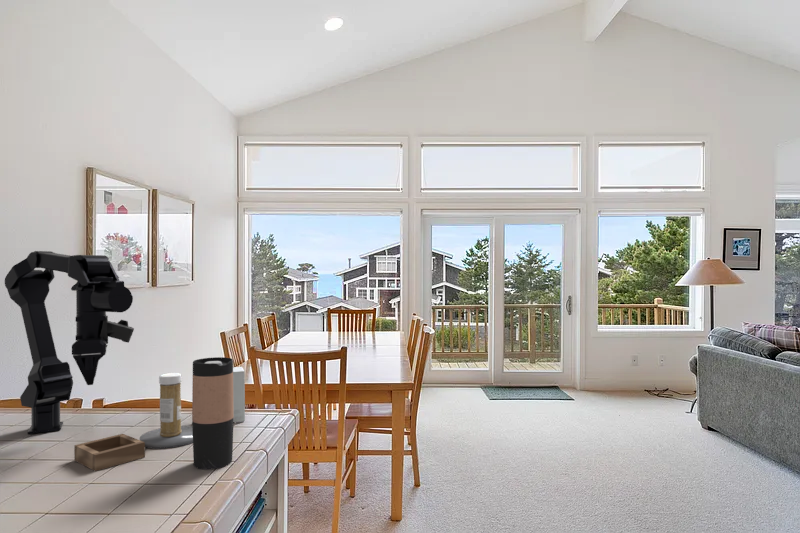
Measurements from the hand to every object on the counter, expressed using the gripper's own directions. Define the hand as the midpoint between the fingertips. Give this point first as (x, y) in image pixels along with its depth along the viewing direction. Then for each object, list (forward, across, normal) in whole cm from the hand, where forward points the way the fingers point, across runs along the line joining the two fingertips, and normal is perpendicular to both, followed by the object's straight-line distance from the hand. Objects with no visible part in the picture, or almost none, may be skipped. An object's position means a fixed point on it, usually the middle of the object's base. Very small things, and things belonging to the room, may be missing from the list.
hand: (91, 381), depth 119 cm
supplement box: (+13, +2, -30) cm, 33 cm away
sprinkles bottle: (+12, -8, -16) cm, 21 cm away
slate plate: (+13, -8, -16) cm, 22 cm away
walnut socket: (+13, -16, -4) cm, 21 cm away
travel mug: (+13, -28, -22) cm, 38 cm away
